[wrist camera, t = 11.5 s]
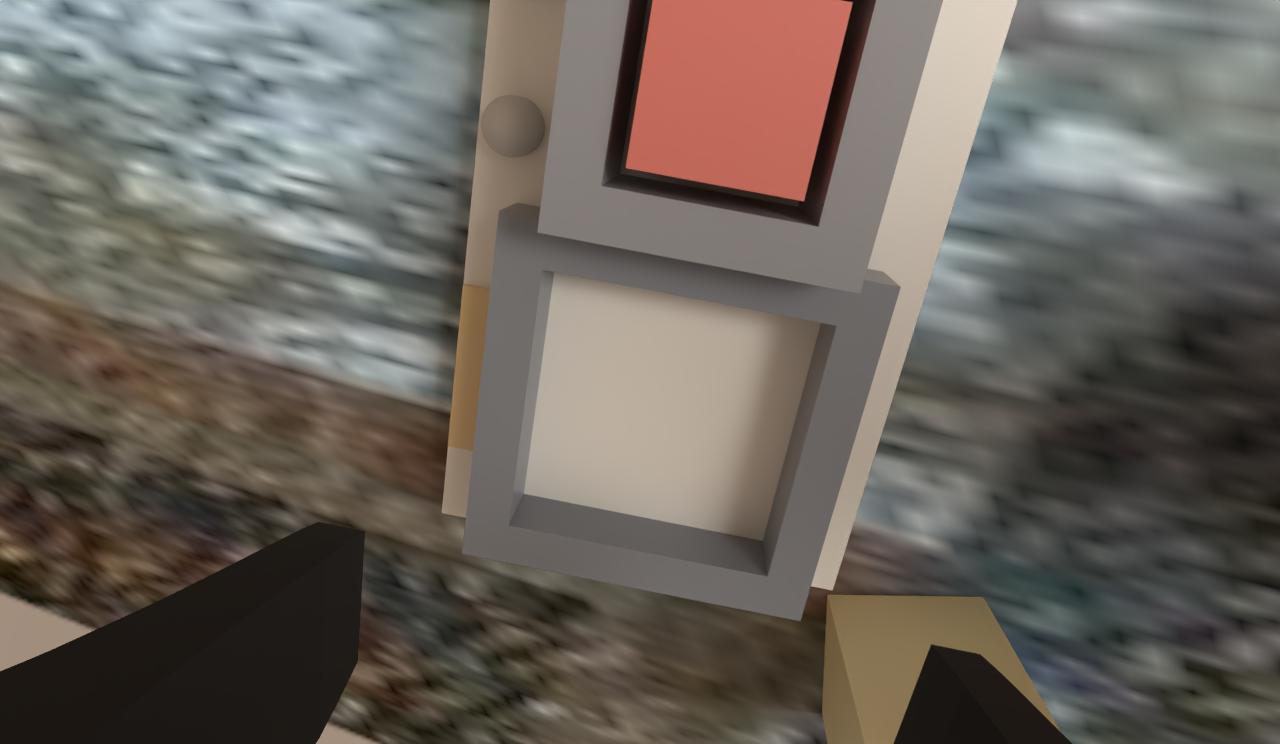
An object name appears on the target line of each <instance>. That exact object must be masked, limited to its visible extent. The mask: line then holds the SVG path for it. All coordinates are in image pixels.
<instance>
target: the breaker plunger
mask: <svg viewBox="0 0 1280 744" xmlns="http://www.w3.org/2000/svg"><path fill="white" fill-rule="evenodd" d="M852 4H853V2H847V1H842V0H653V2H652V8H651V14H650V20H649V26H648V33H647V39H646V45H645V51H644V57H643V63H642V70H641V76H640V82H639V88H638V94H637V101H636V107H635V113H634V119H633V125H632V131H631V138H630V144H629V150H628V156H627V162H626V168H628V169H633V170H639V171H644V172H649V173H655V174H660V175H665V176H671V177H676V178H681V179H687V180H692V181H697V182H703V183H708V184H713V185H719V186H724V187H729V188H735V189H740V190H746V191H751V192H756V193H762V194H767V195H772V196H778V197H783V198H788V199H794V200H799V201H804V200H805V195H806V191H807V187H808V183H809V179H810V175H811V171H812V167H813V163H814V159H815V155H816V151H817V147H818V142H819V138H820V134H821V130H822V126H823V122H824V118H825V114H826V110H827V106H828V102H829V98H830V93H831V89H832V85H833V81H834V77H835V73H836V69H837V65H838V61H839V57H840V53H841V49H842V45H843V40H844V36H845V32H846V28H847V24H848V20H849V16H850V12H851V8H852Z"/></svg>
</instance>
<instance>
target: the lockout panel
mask: <svg viewBox="0 0 1280 744" xmlns="http://www.w3.org/2000/svg"><path fill="white" fill-rule="evenodd" d="M842 1H847V2H853V4H852V8H851V12H850V16H849V20H848V24H847V28H846V32H845V36H844V40H843V45H842V49H841V53H840V57H839V61H838V65H837V69H836V73H835V77H834V81H833V85H832V89H831V93H830V98H829V102H828V106H827V110H826V114H825V118H824V122H823V126H822V130H821V134H820V138H819V142H818V147H817V151H816V155H815V159H814V163H813V167H812V171H811V175H810V179H809V183H808V187H807V191H806V195H805V200H804V201H799V200H794V199H788V198H783V197H778V196H772V195H767V194H762V193H756V192H751V191H746V190H740V189H735V188H729V187H724V186H719V185H713V184H708V183H703V182H697V181H692V180H687V179H681V178H676V177H671V176H665V175H660V174H655V173H649V172H644V171H639V170H633V169H628V168H626V162H627V156H628V150H629V144H630V138H631V131H632V125H633V119H634V113H635V107H636V101H637V94H638V88H639V82H640V76H641V70H642V63H643V57H644V51H645V45H646V39H647V33H648V26H649V20H650V14H651V8H652V2H653V0H490V8H489V18H488V29H487V39H486V50H485V61H484V71H483V82H482V92H481V103H480V113H479V124H478V135H477V145H476V156H475V166H474V177H473V187H472V198H471V208H470V219H469V230H468V240H467V251H466V261H465V272H464V282H463V289H462V300H461V310H460V321H459V332H458V342H457V353H456V363H455V374H454V385H453V395H452V406H451V416H450V427H449V437H448V451H447V462H446V473H445V483H444V494H443V504H442V513H444V514H449V515H454V516H459V517H464V518H466V521H465V530H464V539H463V549H462V554H465V555H470V556H475V557H480V558H485V559H490V560H495V561H501V562H506V563H511V564H516V565H521V566H526V567H531V568H536V569H541V570H546V571H551V572H556V573H561V574H566V575H571V576H576V577H581V578H586V579H591V580H596V581H601V582H606V583H611V584H616V585H621V586H626V587H631V588H636V589H641V590H646V591H651V592H656V593H661V594H666V595H671V596H676V597H681V598H686V599H691V600H696V601H701V602H706V603H711V604H716V605H721V606H726V607H731V608H736V609H741V610H746V611H751V612H756V613H761V614H766V615H771V616H776V617H781V618H786V619H791V620H796V621H801V617H802V614H803V611H804V607H805V604H806V601H807V597H808V594H809V591H810V587H811V586H812V587H817V588H823V589H828V590H833V587H834V584H835V581H836V578H837V575H838V571H839V568H840V565H841V562H842V559H843V556H844V552H845V549H846V546H847V543H848V540H849V536H850V533H851V530H852V527H853V524H854V520H855V517H856V514H857V511H858V508H859V504H860V501H861V498H862V495H863V492H864V488H865V485H866V482H867V479H868V476H869V473H870V469H871V466H872V463H873V460H874V457H875V453H876V450H877V447H878V444H879V441H880V437H881V434H882V431H883V428H884V425H885V421H886V418H887V415H888V412H889V409H890V406H891V402H892V399H893V396H894V393H895V390H896V386H897V383H898V380H899V377H900V374H901V370H902V367H903V364H904V361H905V358H906V354H907V351H908V348H909V345H910V342H911V338H912V335H913V332H914V329H915V326H916V323H917V319H918V316H919V313H920V310H921V307H922V303H923V300H924V297H925V294H926V291H927V287H928V284H929V281H930V278H931V275H932V271H933V268H934V265H935V262H936V259H937V255H938V252H939V249H940V246H941V243H942V240H943V236H944V233H945V230H946V227H947V224H948V220H949V217H950V214H951V211H952V208H953V204H954V201H955V198H956V195H957V192H958V188H959V185H960V182H961V179H962V176H963V173H964V169H965V166H966V163H967V160H968V157H969V153H970V150H971V147H972V144H973V141H974V137H975V134H976V131H977V128H978V125H979V121H980V118H981V115H982V112H983V109H984V105H985V102H986V99H987V96H988V93H989V90H990V86H991V83H992V80H993V77H994V74H995V70H996V67H997V64H998V61H999V58H1000V54H1001V51H1002V48H1003V45H1004V42H1005V38H1006V35H1007V32H1008V29H1009V26H1010V23H1011V19H1012V16H1013V13H1014V10H1015V7H1016V3H1017V0H842Z"/></svg>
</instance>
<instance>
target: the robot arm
mask: <svg viewBox="0 0 1280 744" xmlns="http://www.w3.org/2000/svg"><path fill="white" fill-rule="evenodd" d="M364 537H365V531H361V530H356V529H351V528H346V527H341V526H336V525H331V524H326V523H321V522H317V523H315V524H312V525H310V526H308V527H306V528H303V529H301V530H299V531H297V532H295V533H293V534H291V535H289V536H287V537H285V538H283V539H281V540H279V541H277V542H275V543H273V544H271V545H269V546H267V547H265V548H263V549H261V550H259V551H257V552H255V553H253V554H252V555H250V556H248V557H246V558H244V559H242V560H240V561H238V562H236V563H234V564H232V565H230V566H228V567H226V568H224V569H222V570H220V571H218V572H216V573H214V574H212V575H210V576H208V577H206V578H204V579H202V580H200V581H198V582H196V583H194V584H192V585H190V586H188V587H186V588H184V589H182V590H180V591H178V592H176V593H174V594H172V595H170V596H168V597H166V598H164V599H162V600H160V601H158V602H156V603H154V604H152V605H149V606H147V607H145V608H143V609H141V610H138V611H136V612H134V613H132V614H130V615H127V616H125V617H123V618H121V619H119V620H116V621H114V622H112V623H110V624H108V625H105V626H103V627H101V628H99V629H97V630H94V631H92V632H90V633H88V634H86V635H84V636H81V637H79V638H77V639H75V640H73V641H70V642H68V643H66V644H64V645H62V646H59V647H57V648H55V649H53V650H51V651H48V652H46V653H43V654H41V655H39V656H37V657H34V658H32V659H29V660H27V661H25V662H22V663H20V664H17V665H15V666H12V667H10V668H8V669H5V670H3V671H0V744H316V742H317V741H318V739H319V738H320V736H321V734H322V732H323V730H324V728H325V726H326V724H327V722H328V720H329V718H330V716H331V714H332V712H333V710H334V709H335V707H336V705H337V703H338V701H339V699H340V697H341V695H342V692H343V690H344V688H345V686H346V684H347V682H348V680H349V678H350V676H351V674H352V672H353V670H354V668H355V666H356V664H357V662H358V647H359V628H360V610H361V592H362V573H363V555H364ZM894 744H1072V743H1071V742H1070V741H1069V740H1068V739H1067V738H1066V737H1065V736H1064V735H1063V734H1062V733H1061V732H1060V731H1059V730H1058V729H1057V728H1056V727H1055V726H1054V725H1053V724H1052V723H1051V722H1050V721H1049V720H1048V719H1047V718H1046V717H1045V716H1044V715H1043V714H1042V713H1041V712H1040V711H1039V710H1038V709H1037V708H1036V707H1035V706H1034V705H1033V704H1032V703H1031V702H1030V701H1029V700H1028V699H1027V698H1026V697H1025V696H1024V695H1023V694H1022V693H1021V692H1020V691H1019V690H1018V689H1017V688H1016V687H1015V686H1014V685H1013V684H1012V683H1011V682H1010V681H1009V680H1008V679H1007V678H1006V677H1005V676H1004V675H1003V674H1002V673H1000V672H999V671H998V670H997V669H996V668H995V667H994V666H993V665H992V664H991V663H990V662H988V661H987V660H986V659H985V658H984V657H983V656H982V655H980V654H977V653H972V652H967V651H962V650H957V649H952V648H947V647H942V646H937V645H932V644H931V646H930V649H929V651H928V654H927V656H926V659H925V662H924V664H923V667H922V670H921V672H920V675H919V678H918V680H917V683H916V686H915V688H914V691H913V693H912V696H911V699H910V701H909V704H908V707H907V709H906V712H905V715H904V717H903V720H902V722H901V725H900V728H899V730H898V733H897V736H896V738H895V741H894Z"/></svg>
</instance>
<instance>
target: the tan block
mask: <svg viewBox="0 0 1280 744" xmlns="http://www.w3.org/2000/svg"><path fill="white" fill-rule="evenodd" d="M931 644H932V645H937V646H942V647H947V648H952V649H957V650H962V651H967V652H972V653H977V654H980V655H982V656H983V657H984V658H985V659H986V660H987V661H988V662H990V663H991V664H992V665H993V666H994V667H995V668H996V669H997V670H998V671H999V672H1000V673H1002V674H1003V675H1004V676H1005V677H1006V678H1007V679H1008V680H1009V681H1010V682H1011V683H1012V684H1013V685H1014V686H1015V687H1016V688H1017V689H1018V690H1019V691H1020V692H1021V693H1022V694H1023V695H1024V696H1025V697H1026V698H1027V699H1028V700H1029V701H1030V702H1031V703H1032V704H1033V705H1034V706H1035V707H1036V708H1037V709H1038V710H1039V711H1040V712H1041V713H1042V714H1043V715H1044V716H1045V717H1046V718H1047V719H1048V720H1049V721H1050V722H1051V723H1052V724H1053V725H1054V726H1055V727H1056V728H1057V729H1058V730H1059V728H1058V726H1057V725H1056V723H1055V721H1054V719H1053V718H1052V716H1051V714H1050V713H1049V711H1048V709H1047V707H1046V706H1045V704H1044V702H1043V700H1042V699H1041V697H1040V695H1039V693H1038V692H1037V690H1036V688H1035V686H1034V685H1033V683H1032V681H1031V679H1030V678H1029V676H1028V674H1027V673H1026V671H1025V669H1024V667H1023V666H1022V664H1021V662H1020V660H1019V659H1018V657H1017V655H1016V653H1015V652H1014V650H1013V648H1012V646H1011V645H1010V643H1009V641H1008V639H1007V638H1006V636H1005V634H1004V632H1003V631H1002V629H1001V627H1000V626H999V624H998V622H997V620H996V619H995V617H994V615H993V613H992V612H991V610H990V608H989V606H988V605H987V603H986V601H985V599H984V598H983V597H957V596H883V595H827V613H826V635H825V657H824V680H823V702H822V717H823V722H824V727H825V732H826V738H827V743H828V744H894V741H895V738H896V736H897V733H898V730H899V728H900V725H901V722H902V720H903V717H904V715H905V712H906V709H907V707H908V704H909V701H910V699H911V696H912V693H913V691H914V688H915V686H916V683H917V680H918V678H919V675H920V672H921V670H922V667H923V664H924V662H925V659H926V656H927V654H928V651H929V649H930V646H931ZM1059 731H1060V730H1059Z"/></svg>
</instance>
